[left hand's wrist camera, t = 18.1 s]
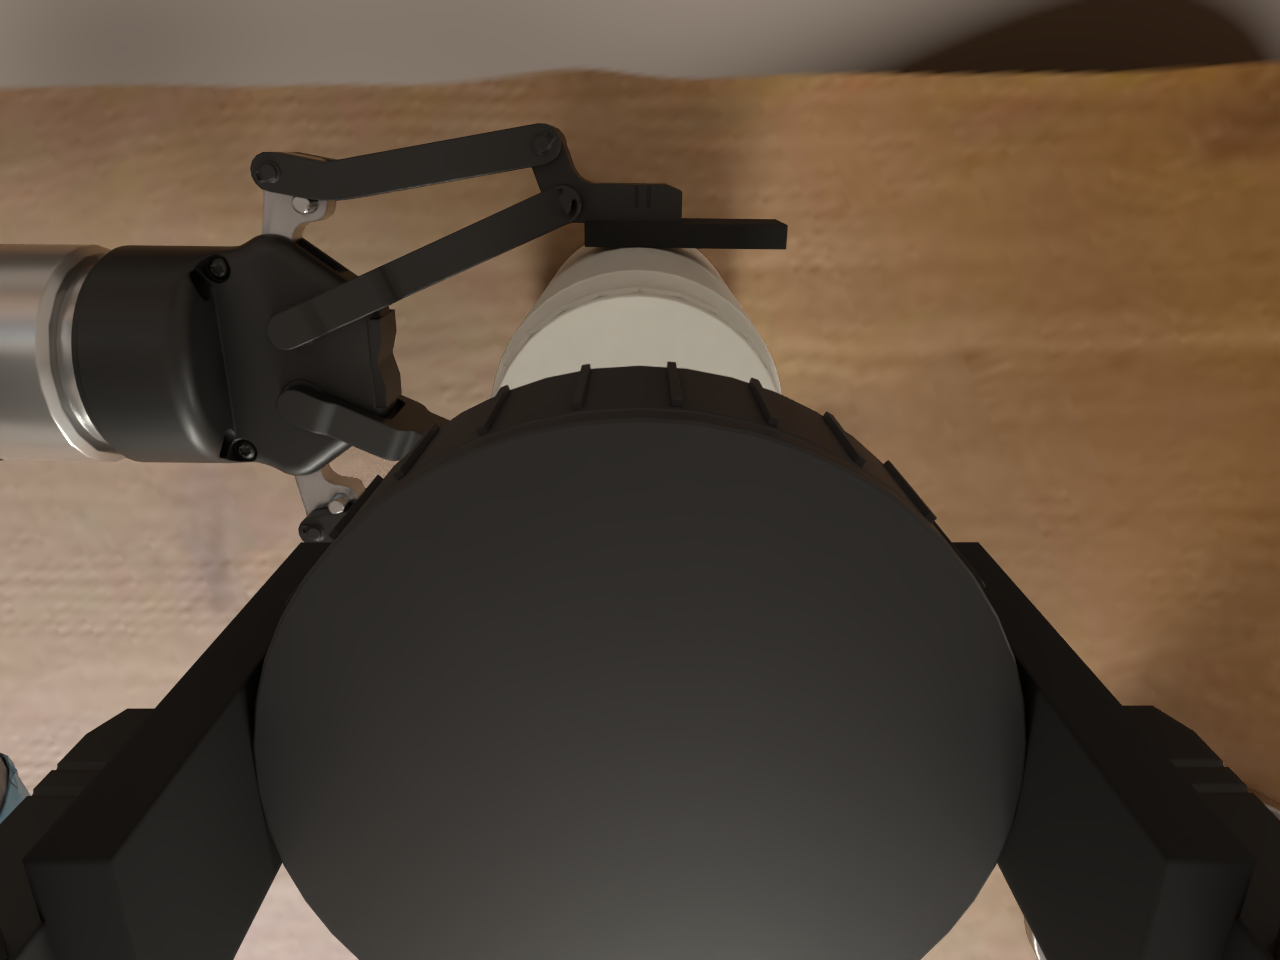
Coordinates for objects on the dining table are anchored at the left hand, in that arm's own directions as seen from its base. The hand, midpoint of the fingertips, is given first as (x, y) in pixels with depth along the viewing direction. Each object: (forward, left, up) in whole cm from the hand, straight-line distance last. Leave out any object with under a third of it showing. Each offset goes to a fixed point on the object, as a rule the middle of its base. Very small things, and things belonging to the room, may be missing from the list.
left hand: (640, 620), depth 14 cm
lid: (0, 0, +4) cm, 4 cm away
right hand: (-5, -1, -18) cm, 19 cm away
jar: (0, 0, -25) cm, 25 cm away
